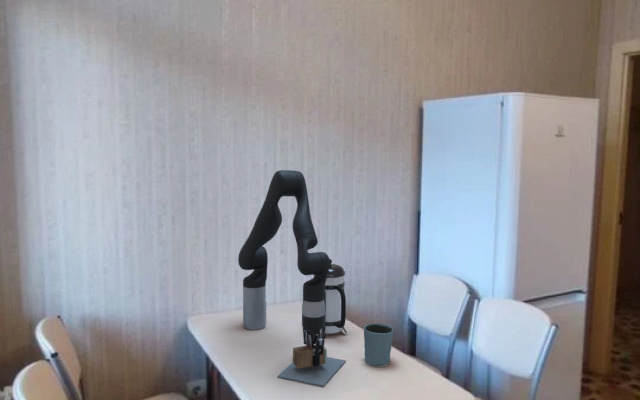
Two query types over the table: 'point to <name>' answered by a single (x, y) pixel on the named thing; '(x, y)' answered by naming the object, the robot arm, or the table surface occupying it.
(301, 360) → the walnut block
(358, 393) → the table surface
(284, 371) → the mat
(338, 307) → the coffee press
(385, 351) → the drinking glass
